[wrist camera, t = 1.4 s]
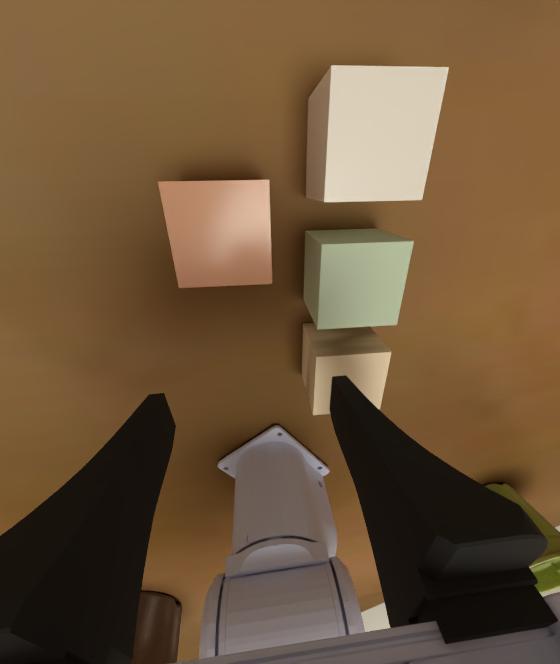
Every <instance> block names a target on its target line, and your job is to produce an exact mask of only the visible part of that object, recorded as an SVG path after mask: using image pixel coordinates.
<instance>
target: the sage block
mask: <svg viewBox="0 0 560 664" xmlns="http://www.w3.org/2000/svg"><path fill="white" fill-rule="evenodd" d="M413 243H414V241H412V240H409V239H406V238H403V237H400V236H397V235H394V234H391V233H389V232H386V231H383V230H380V229H377V228H374V229H343V230H311V231H305V259H304V299H303V300H304V302H305V304H306V306H307V308H308V311H309V313H310V315H311V317H312V319H313V321H314V323H315V326H316V328H317V330H319V329H335V328H352V327H368V326H385V325H397V321H398V316H399V312H400V307H401V302H402V297H403V292H404V287H405V282H406V277H407V272H408V267H409V262H410V257H411V252H412V247H413Z"/></svg>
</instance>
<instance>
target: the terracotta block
mask: <svg viewBox="0 0 560 664" xmlns="http://www.w3.org/2000/svg"><path fill="white" fill-rule="evenodd" d="M158 184H159V189H160V194H161V200H162V205H163V210H164V215H165V220H166V225H167V230H168V235H169V240H170V245H171V250H172V256H173V261H174V266H175V271H176V276H177V281H178V286H179V288H193V287H215V286H236V285H257V284H272V257H271V224H270V191H269V180H224V181H167V182H158Z"/></svg>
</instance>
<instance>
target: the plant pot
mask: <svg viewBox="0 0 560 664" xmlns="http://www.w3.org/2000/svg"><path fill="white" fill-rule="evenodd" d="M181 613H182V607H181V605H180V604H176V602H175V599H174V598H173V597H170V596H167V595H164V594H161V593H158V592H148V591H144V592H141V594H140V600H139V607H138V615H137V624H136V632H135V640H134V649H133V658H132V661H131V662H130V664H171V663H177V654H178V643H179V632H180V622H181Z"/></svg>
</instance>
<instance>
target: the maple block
mask: <svg viewBox="0 0 560 664" xmlns="http://www.w3.org/2000/svg"><path fill="white" fill-rule="evenodd" d="M390 357H391V351H390V350H389V349H388V347H387V346H386V345H385V344H384V343H383V341H382V340H381V339H380V338H379V337H378V336H377V334H376V333H375V332H374V331H373V330H372V329H371V327H370V326H368V327H352V328H335V329H319V330H317V328H316V326H315V323H303V347H302V377H303V381H304V384H305V388H306V391H307V395H308V399H309V402H310V406H311V409H312V413H313V415H321V414H330V410H329V408H330V396H331V384H332V377H333V376H343V375H346V376H347V377H348V378H349V379H350V380H351V381H352V382H353V383H354V384H355V386H356V387H357V388H358V389H359V390H360V391H361V392H362V393H363V394H364V395H365V396H366V397H367V398H368V399H369V400H370V401H371V402H372V403H373V404H374V405H375V406H376V407H377V408H378V409H379V410H380V406H381V401H382V396H383V391H384V386H385V381H386V377H387V372H388V367H389V362H390Z"/></svg>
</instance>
